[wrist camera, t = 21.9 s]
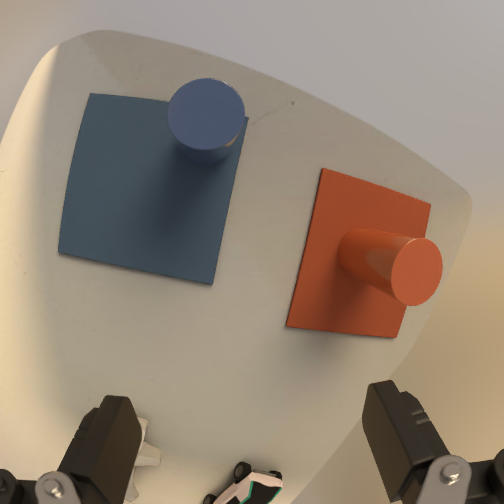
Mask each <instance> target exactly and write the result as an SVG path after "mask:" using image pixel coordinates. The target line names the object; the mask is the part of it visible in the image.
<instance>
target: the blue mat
mask: <svg viewBox="0 0 504 504" xmlns="http://www.w3.org/2000/svg"><path fill="white" fill-rule="evenodd" d="M168 105H169V102H166V101H159V100H152V99H144V98H136V97H127V96H117V95H106V94H93V93H90V96H89V99H88V102H87V106H86V109H85V112H84V116H83V119H82V123H81V127H80V130H79V134H78V138H77V142H76V146H75V150H74V154H73V159H72V163H71V168H70V173H69V178H68V183H67V189H66V194H65V200H64V207H63V213H62V221H61V228H60V237H59V246H58V252H60V253H64V254H69V255H73V256H77V257H82V258H86V259H91V260H95V261H100V262H104V263H109V264H113V265H118V266H123V267H127V268H132V269H137V270H142V271H146V272H151V273H156V274H161V275H166V276H171V277H176V278H182V279H187V280H192V281H197V282H203V283H208V284H213V280H214V275H215V270H216V265H217V260H218V255H219V250H220V245H221V240H222V235H223V230H224V226H225V221H226V216H227V211H228V207H229V202H230V197H231V193H232V188H233V184H234V179H235V175H236V170H237V166H238V161H239V157H240V152H241V148H242V144H243V139H244V135H245V131H246V127H247V122H248V118H249V117H246V116H245V118H244V122H243V126H242V128H241V130H240V132H239V134H238V137H237V139H236V141H235V143H234V146H233V148H232V150H231V152H230V154H229V155H228V156H227V157H226V158H225V159H224V160H223V161H221V162H220V163H218V164H215V165H212V166H200V165H196V164H194V163H192V162H190V161H189V160H188V159H187V158H186V157H185V156H184V155H183V153H182V151H181V149H180V148H179V146H178V144H177V142H176V140H175V138H174V136H173V135H172V133H171V131H170V129H169V126H168V123H167V109H168Z"/></svg>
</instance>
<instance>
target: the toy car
mask: <svg viewBox="0 0 504 504" xmlns="http://www.w3.org/2000/svg"><path fill="white" fill-rule="evenodd" d="M234 479H235V480H236V481H234V482H233V483H232V484H231V485H230V486H229V487H228V488H227V489H226V490H225V491H223V492H222V493H221V494H220V495H219V496H218V497H216V496H214V495H211V494H208V495H207V496H206V497H205V499H204V501H203V504H268V503H270V502H271V501H272V500H273V499H274V497H275V496H276V495H277V494H278V493H279V492H280V490H281V489H282V488H283V486H284V484H283V482H282V475H281V473H280V472H278V471H270V472H269V473H267V472H264V471H260V470H256V469H255V470H254V471H253V472H251V466H250V464H248V463H245V462H240V463H239V464H238V465H237V466H236V468H235V471H234Z"/></svg>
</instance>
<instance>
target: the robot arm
mask: <svg viewBox="0 0 504 504" xmlns="http://www.w3.org/2000/svg"><path fill="white" fill-rule="evenodd" d="M362 423H363V429H364V432H365V434H366V437H367V440H368V443H369V445H370V448H371V451H372V453H373V456H374V459H375V461H376V464H377V467H378V470H379V472H380V475H381V478H382V480H383V483H384V486H385V489H386V492H387V495H388V498H389V500H390V503H392V502H395V501H399V500H401V501H402V503H403V504H504V449H502V450H501V451H500V452H499V453H498V454H497V455H496V457H495V458H494V459H493V460H487V461H480V462H472V463H468V462H467V461H466V460H465V459H463V458H461V457H459V456H456V455H451V454H450V453H449V451H448V450H447V448H446V446H445V444H444V443H443V441H442V439H441V438H440V436H439V434H438V432H437V431H436V429H435V427H434V425H433V424H432V422H431V421H430V420H429V417H428V415H427V414H426V412H424V409H423V407H422V406H421V404H420V403H419V401H418V399H417V398H415V397H414V396H413V395H411V394H410V393H408V392H407V391H405V392H401V393H400V392H399V391H398V389H397V387H396V386H395V384H394V382H393V381H392V380H387V381H382V382H377V383H372V384H369V386H368V390H367V395H366V400H365V404H364V409H363V414H362ZM74 437H75V438H73V439H72V441H71V443H70V445H69V447H68V449H67V451H66V453H65V455H64V457H63V459H62V462H61V464H60V466H59V468H58V469H57V471H52V472H48V473H45V474H44V475H42V476H41V477H40V478H39V479H38V481H30V480H17V479H16V478H15V477H14V476H13V475H12V474H11V472H9V471H8V470H5V469H0V504H123V502H124V498H125V495H126V491H127V488H128V484H129V481H130V477H131V474H132V471H133V467H134V464H135V461H136V458H137V454H138V451H139V448H140V445H141V441H142V428H141V425H140V422H139V420H138V418H137V416H136V413H135V411H134V408H133V406H132V404H131V401H130V399H129V398H128V397H124V396H113V395H107V396H105V398H104V399H103V401H102V403H101V405H100V407H99V408H93V409H92V410H91V411H90V412H89V413H88V414H87V415H85V416H84V418H83V420H82V422H81V424H80V426H79V430H77V431H76V433H75V435H74Z"/></svg>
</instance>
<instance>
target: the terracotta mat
mask: <svg viewBox="0 0 504 504" xmlns="http://www.w3.org/2000/svg"><path fill="white" fill-rule="evenodd" d="M430 208H431V204H429V203H426V202H423V201H421V200H418V199H415V198H413V197H410V196H407V195H405V194H402V193H399V192H396V191H393V190H390V189H388V188H385V187H382V186H379V185H376V184H373V183H370V182H367V181H364V180H361V179H358V178H354V177H351V176H348V175H345V174H342V173H338V172H335V171H332V170H328V169H325V168H322V170H321V175H320V180H319V185H318V190H317V195H316V199H315V204H314V209H313V213H312V218H311V222H310V227H309V231H308V236H307V240H306V245H305V249H304V253H303V257H302V262H301V266H300V270H299V274H298V278H297V282H296V286H295V290H294V294H293V298H292V302H291V306H290V310H289V314H288V318H287V322H286V326H288V327H296V328H304V329H312V330H320V331H329V332H338V333H348V334H358V335H369V336H380V337H393V338H396V337H397V334H398V332H399V329H400V326H401V323H402V319H403V316H404V313H405V310H406V307H407V305H405V304H402V303H401V302H399V301H397V300H395V299H393V298H392V297H390V296H388V295H386V294H384V293H382V292H381V291H379V290H377V289H375V288H373V287H371V286H370V285H368V284H366V283H364V282H362V281H360V280H358V279H357V278H355V277H353V276H351V275H349V274H348V273H346V272H345V271H344V270H343V268H342V267H341V265H340V262H339V258H338V249H339V245H340V242H341V240H342V238H343V237H344V235H345V234H346V233H347V232H348V231H350V230H351V229H353V228H356V227H361V226H362V227H369V228H374V229H380V230H385V231H390V232H395V233H400V234H405V235H410V236H415V237H420V238H425V233H426V228H427V224H428V218H429V213H430Z"/></svg>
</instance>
